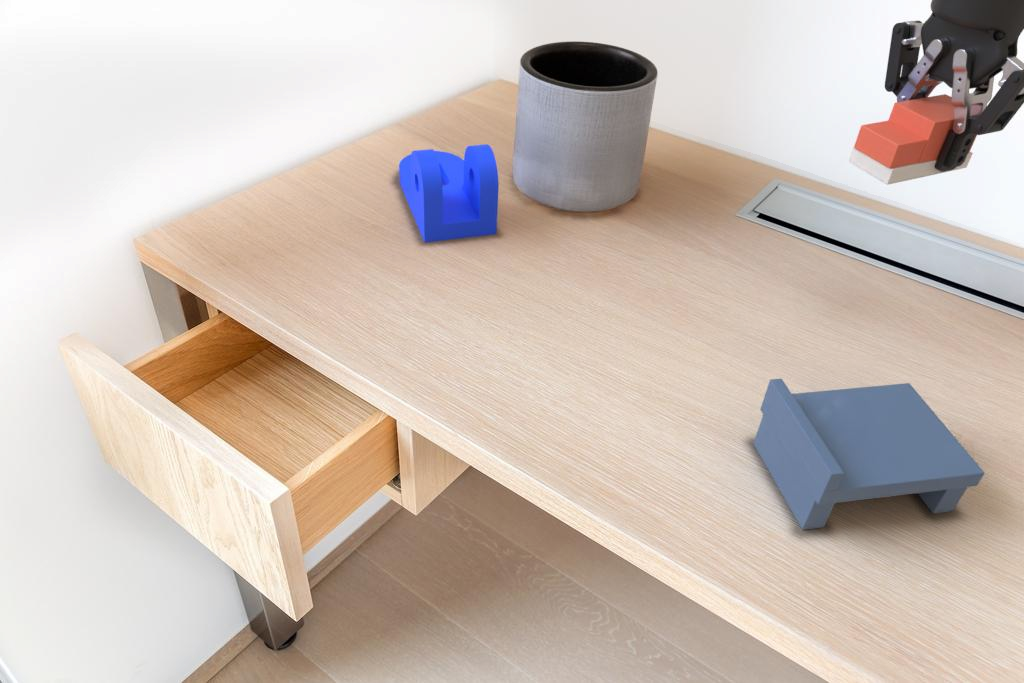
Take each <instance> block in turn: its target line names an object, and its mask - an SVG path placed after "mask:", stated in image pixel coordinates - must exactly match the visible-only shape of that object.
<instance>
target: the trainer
mask: <svg viewBox="0 0 1024 683" xmlns="http://www.w3.org/2000/svg"><path fill="white" fill-rule="evenodd" d="M951 97H952V96H950V95H948V94H938V95H933V96H928V97H926V98H920V99H914V100H908V101H902V102H897V101H896V102H894V104H893V106H892V109H891V112H890V114H889V117H888V120H882V121H877V122H872V123H867V124H862V125H861V126H860V128H859V131H858V134H857V136H856V140H855V143H854V145H853V148H852V150H851V153H850V155H849V158H848V163H850V164H851V165H853V166H855V167H857V168H858V169H860V170H861V171H862V172H865V173H866V174H868V175H870V176H871V177H873V178H875V179H876V180H878V181H880V182H881V183H883V184H885V185H887V186H888V185H889V186H890V185H893V184H898V183H902V182H906V181H911V180H916V179H921V178H926V177H930V176H934V175H938V174H944V173H948V172H953V171H957V170H962V169H966V168H968V165H969V163H970V162H971V159H972V156H973V153H974V152H972V151H971V149H972V147H973V146H974V142H975V141H976V139H977V136H978V135H976V137H975V139H974V141H973V143H972V146H971V148H970V150H969V152H968V155H967V157H966V159H965V161H964V163H963V164H962V165H961V166H958V167H956V168H955V169H953V170H949V171H945V172H941V171H939V170H937V169H935V167H934V166H935V163H936V160H937V158H938V156H939V153H940V151H941V148H942V146H943V144H944V141H945V139H946V137H947V134H948V132H949V130H953V128H952V126H953V116H954V105H952V103H951Z"/></svg>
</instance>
